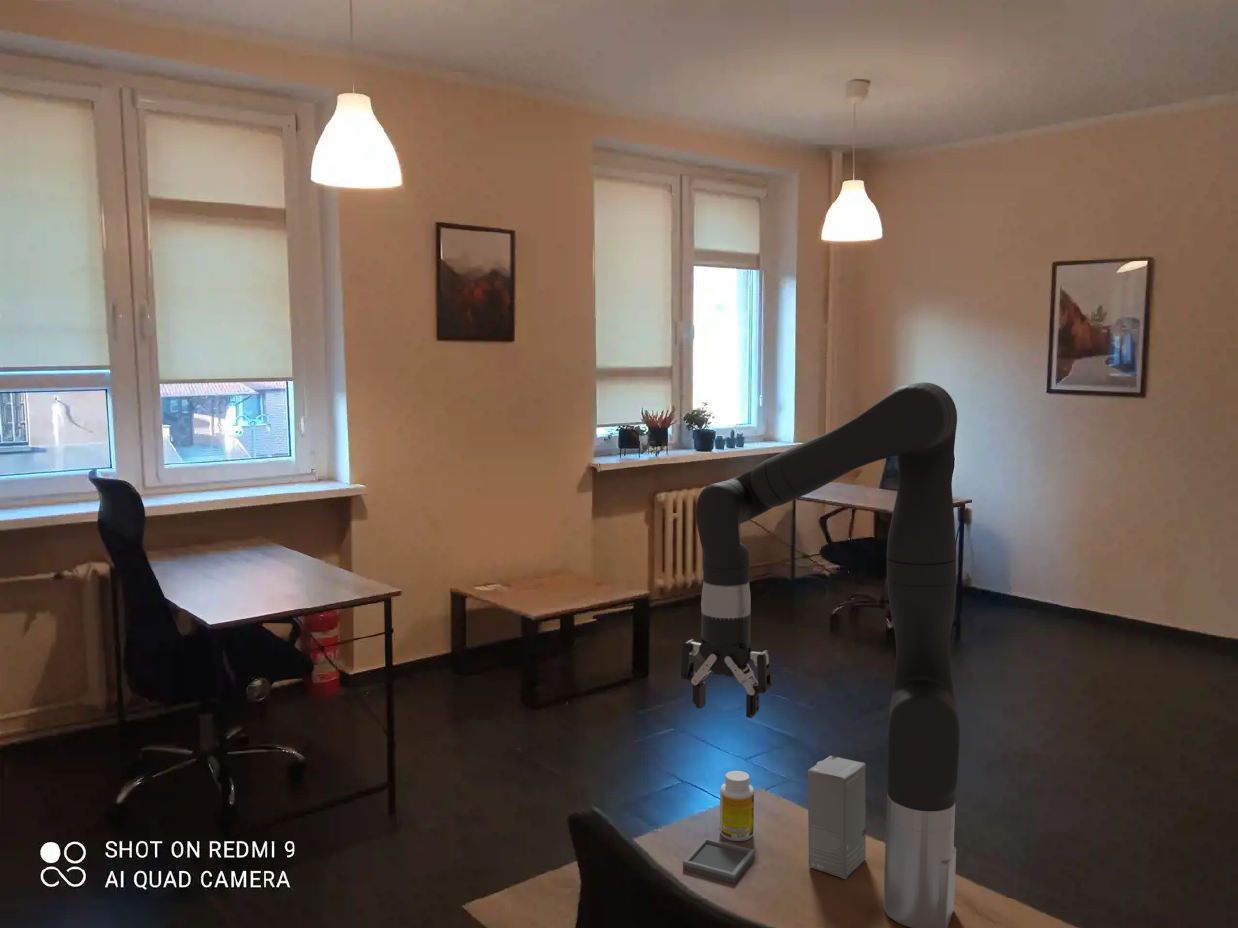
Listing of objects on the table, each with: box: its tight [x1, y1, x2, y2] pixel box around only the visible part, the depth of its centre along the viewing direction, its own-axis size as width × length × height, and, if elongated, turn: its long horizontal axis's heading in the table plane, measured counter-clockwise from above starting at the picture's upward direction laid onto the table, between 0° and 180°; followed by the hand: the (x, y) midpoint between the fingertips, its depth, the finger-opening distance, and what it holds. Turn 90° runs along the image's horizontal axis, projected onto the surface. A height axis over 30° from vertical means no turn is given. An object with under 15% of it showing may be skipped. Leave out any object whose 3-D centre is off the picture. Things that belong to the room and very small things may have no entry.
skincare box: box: [807, 755, 867, 880], centre depth 151 cm, size 8×7×16 cm
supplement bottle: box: [719, 770, 755, 842], centre depth 161 cm, size 6×6×10 cm
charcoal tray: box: [682, 837, 755, 884], centre depth 152 cm, size 8×8×1 cm
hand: (725, 711), depth 151 cm, fingers open, 8 cm apart
